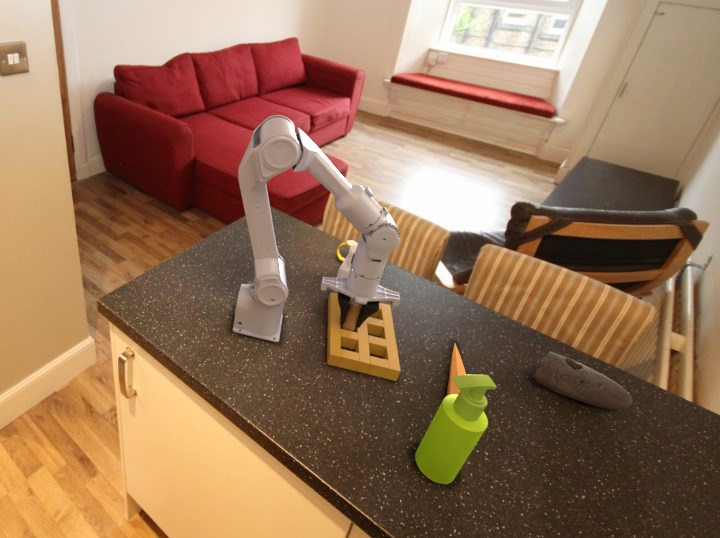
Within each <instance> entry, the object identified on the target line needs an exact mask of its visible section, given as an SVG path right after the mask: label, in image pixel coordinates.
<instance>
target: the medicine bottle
mask: <svg viewBox="0 0 720 538" xmlns="http://www.w3.org/2000/svg"><path fill="white" fill-rule="evenodd" d="M357 245H358V242H357V243H356V244H353V245H351V247H349V250H348V253H347V255H346V257H344V258H345V260H344V261H342V263H341V264H340V266H339V268H338V271H337V274H336V278H348V274H349V271H350V268H351V265H352V261H353V258H354V255H355V251H356V248H357ZM332 292H333V293H337V294H338V291H333V290H332Z"/></svg>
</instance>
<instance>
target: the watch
mask: <svg viewBox="0 0 720 538" xmlns="http://www.w3.org/2000/svg"><path fill="white" fill-rule="evenodd" d="M356 243H358V242H357V241H356V240H352V239H348V240H347V241H343V242H341V243H340V244H339V245H338V247H337V248H336V252H335V254H336V257H337V258H338V260H339V261H341V262H343V261H344V260H345V258H346V257H344V256H342V255H341V253H340V248H341V247H343V246H346V247H347V248H350V247H351V245H353V244H356Z"/></svg>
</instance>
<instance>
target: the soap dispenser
mask: <svg viewBox="0 0 720 538" xmlns="http://www.w3.org/2000/svg"><path fill="white" fill-rule="evenodd" d="M451 378H452V380H453V381H454V383H455V384H456V386H457V387H458V389H459V390H461V391H460V392H459V394H458V395H457V394H452V395H448V396H447V395H446V396H445V397H444V398H443V400H442V402H441V404H440V405H439V407H438V408H437V411H436V412H435V415H434V417H433V419H432V421H431V422H430V424H429V426H428V427H427V430H426V432H425V434H424V436H423V438H422V439H421V441H420V444H419V446H418V447H417V449H416V450H415V453H414V459H415V463H416V465H417V467H418V469H419V471H420V472H421V473H422V474H423V475H424V476H425V477H426V478H428V479H429V480H431V481H432V482H434V483H436V484H440V485H448V484H451V483H453V481H454V480H455V479H456V477H457V476H458V474H459V473H460V471H461V469H462V467H463V466H464V464H465V463H466V462H467V460H468V459H469V456H470V454H471V453H472V451H474V449H475V447H476V445H477V444H478V442H479V441H480V439H481V437H483V436H482V435H483V434H484V433H485V431H486V430H487V428H488V425H489V420H488V417H487V415H486V413H485V409H486V408H487V406H488V399H487V397H486V395H485V394H486V392H487V391H488V390H496V389H497V387H498V386H497V385H496V384H495V382H494V381H493V379H492V377H490V375H489V374H479V373H478V374H474V373H473V374H472V373H471V374H466V375H459V376H454V377H451Z"/></svg>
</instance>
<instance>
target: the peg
mask: <svg viewBox="0 0 720 538" xmlns="http://www.w3.org/2000/svg"><path fill="white" fill-rule="evenodd" d="M350 304H351V306H350V307H349V309H348V311H347V314H346V318H345V322H344V324H342V326H341V327H340V329H343V330H348V331H352V332H354V330H355V327H356V323H357V321H358V318H359V315H360V312H361V309H362V306H363V304H360V303H357V302H356V301H355V299H354V298H351V299H350Z"/></svg>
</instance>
